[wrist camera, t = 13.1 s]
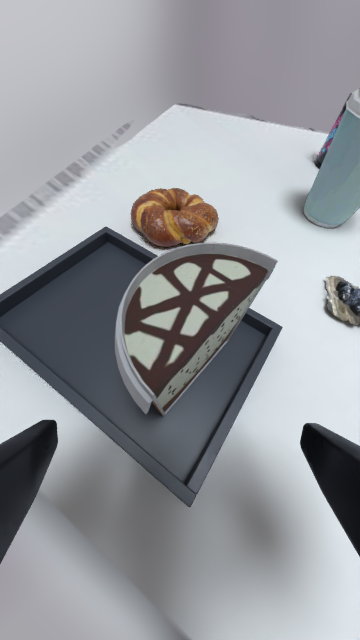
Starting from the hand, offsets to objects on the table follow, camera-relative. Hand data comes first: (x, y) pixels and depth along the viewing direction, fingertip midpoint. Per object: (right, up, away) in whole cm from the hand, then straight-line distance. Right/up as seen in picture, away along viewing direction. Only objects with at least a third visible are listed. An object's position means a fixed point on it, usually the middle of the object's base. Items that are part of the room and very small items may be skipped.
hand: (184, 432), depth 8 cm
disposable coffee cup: (+23, +21, +29) cm, 42 cm away
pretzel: (-1, +18, +24) cm, 30 cm away
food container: (-1, +1, +13) cm, 13 cm away
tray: (-5, +3, +14) cm, 15 cm away
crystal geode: (+20, +6, +19) cm, 28 cm away
